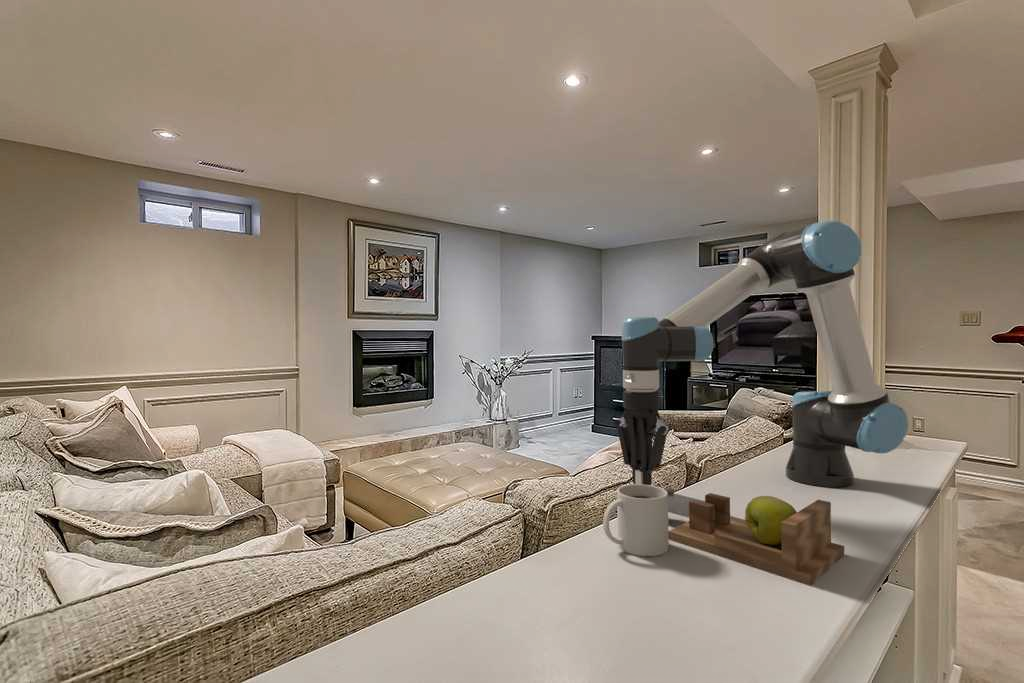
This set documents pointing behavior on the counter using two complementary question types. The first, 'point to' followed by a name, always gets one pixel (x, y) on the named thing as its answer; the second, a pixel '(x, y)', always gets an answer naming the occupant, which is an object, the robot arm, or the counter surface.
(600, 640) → the counter surface
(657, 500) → the mug
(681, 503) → the shaft
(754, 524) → the apple
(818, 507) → the cradle
